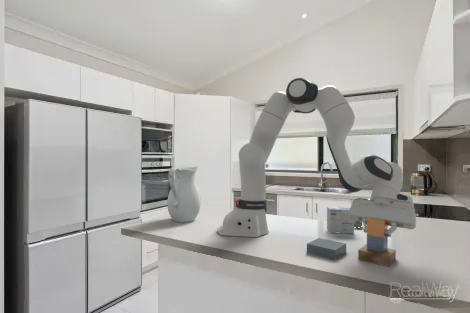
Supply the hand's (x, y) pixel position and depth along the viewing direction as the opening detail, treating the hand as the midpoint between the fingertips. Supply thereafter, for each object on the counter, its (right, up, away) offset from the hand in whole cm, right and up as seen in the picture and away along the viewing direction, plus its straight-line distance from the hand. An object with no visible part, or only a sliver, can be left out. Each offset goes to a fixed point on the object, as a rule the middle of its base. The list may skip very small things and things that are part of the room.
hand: (376, 233), depth 90 cm
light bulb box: (+2, -9, +35) cm, 37 cm away
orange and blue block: (0, -5, 0) cm, 5 cm away
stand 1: (-14, -8, +6) cm, 18 cm away
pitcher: (-74, -8, +50) cm, 89 cm away
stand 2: (0, -8, 0) cm, 8 cm away
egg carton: (+11, -10, +47) cm, 49 cm away
